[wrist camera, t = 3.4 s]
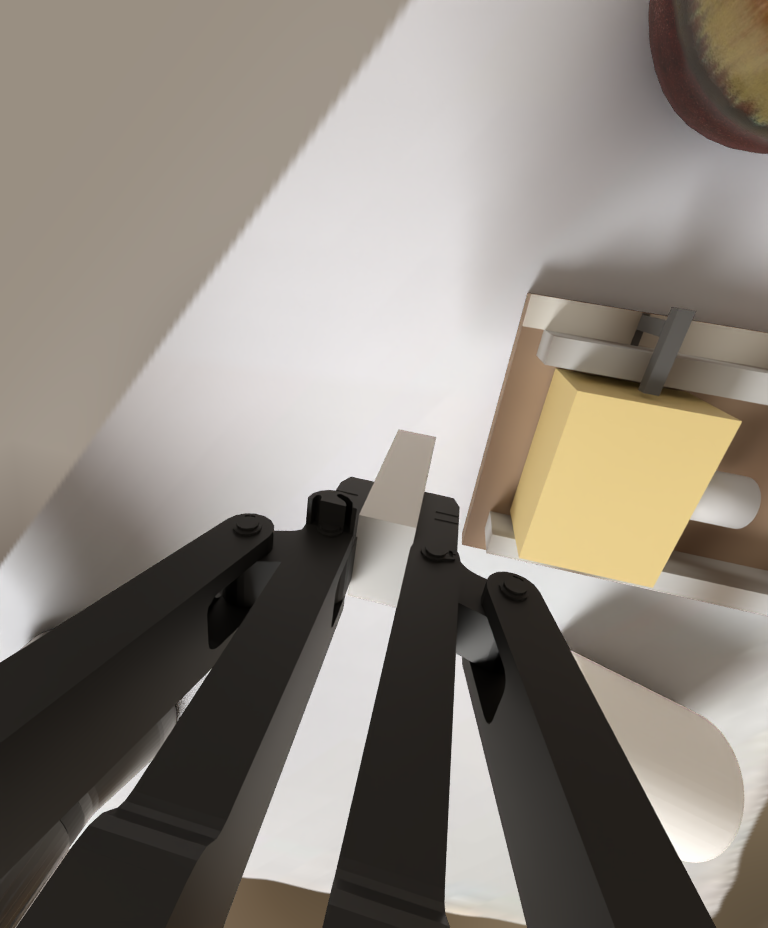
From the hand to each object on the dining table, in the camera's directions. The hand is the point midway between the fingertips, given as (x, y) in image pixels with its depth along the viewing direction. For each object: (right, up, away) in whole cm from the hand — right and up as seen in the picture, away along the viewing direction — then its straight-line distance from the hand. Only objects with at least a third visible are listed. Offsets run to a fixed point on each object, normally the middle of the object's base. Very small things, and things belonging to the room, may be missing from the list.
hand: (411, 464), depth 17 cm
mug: (+13, -17, +14) cm, 25 cm away
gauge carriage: (+11, +2, +4) cm, 12 cm away
